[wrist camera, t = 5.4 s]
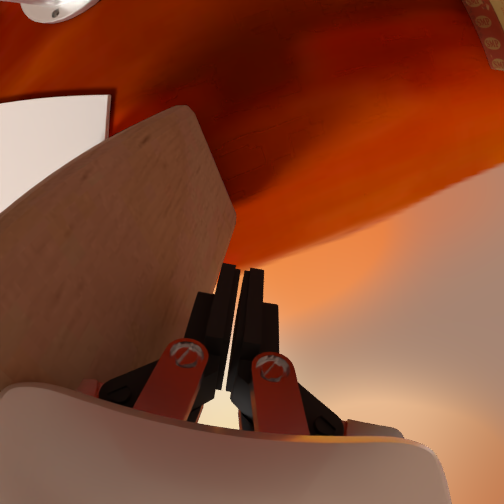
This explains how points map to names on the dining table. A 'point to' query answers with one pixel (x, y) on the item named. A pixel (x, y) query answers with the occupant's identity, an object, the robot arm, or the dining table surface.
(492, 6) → the carton
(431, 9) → the dining table surface
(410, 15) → the dining table surface
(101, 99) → the white mat
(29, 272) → the wooden block
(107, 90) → the dining table surface
